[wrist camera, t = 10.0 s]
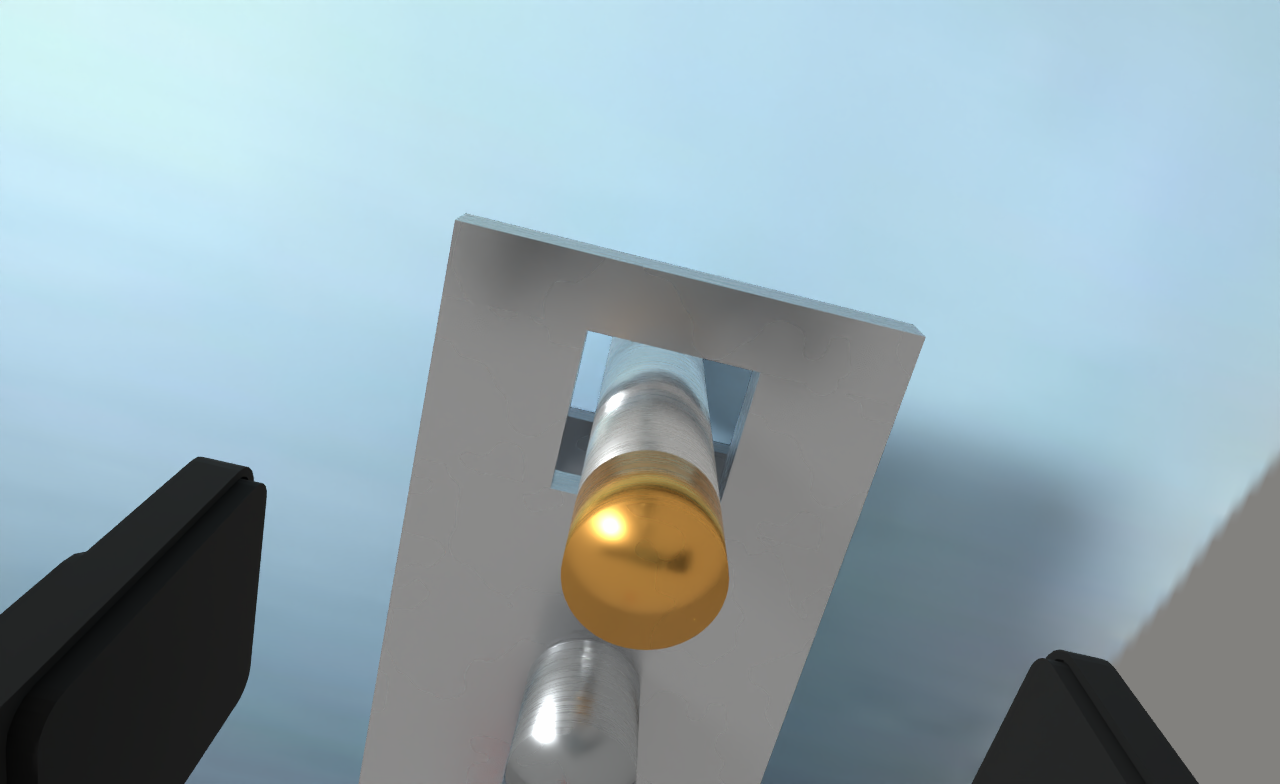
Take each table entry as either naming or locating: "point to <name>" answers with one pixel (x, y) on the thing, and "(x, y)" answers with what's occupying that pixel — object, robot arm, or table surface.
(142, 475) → the table surface
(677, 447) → the pin
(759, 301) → the plate with square hole
